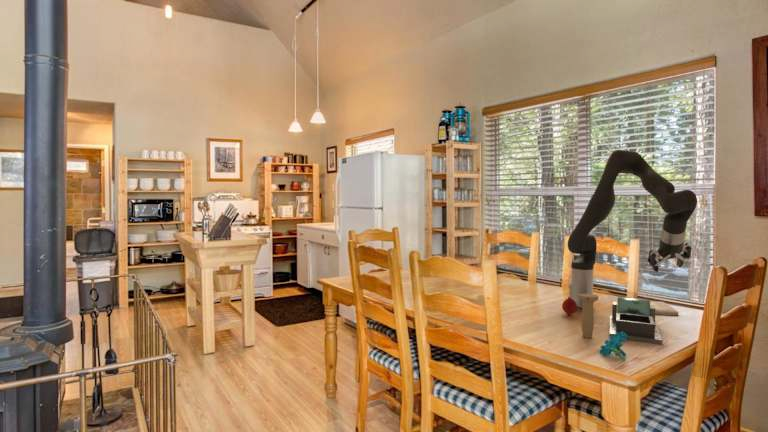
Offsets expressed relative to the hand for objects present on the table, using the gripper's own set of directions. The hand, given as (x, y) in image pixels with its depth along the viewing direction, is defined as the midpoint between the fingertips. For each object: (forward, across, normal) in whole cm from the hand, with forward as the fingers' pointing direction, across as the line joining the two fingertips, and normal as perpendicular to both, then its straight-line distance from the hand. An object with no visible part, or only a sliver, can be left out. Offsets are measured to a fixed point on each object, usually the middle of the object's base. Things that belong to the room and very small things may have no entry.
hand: (667, 268), depth 174 cm
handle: (+1, +39, +23) cm, 45 cm away
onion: (+19, +37, -1) cm, 41 cm away
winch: (+11, +19, +17) cm, 28 cm away
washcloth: (+34, -2, -6) cm, 35 cm away
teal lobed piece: (-9, +37, +38) cm, 54 cm away
